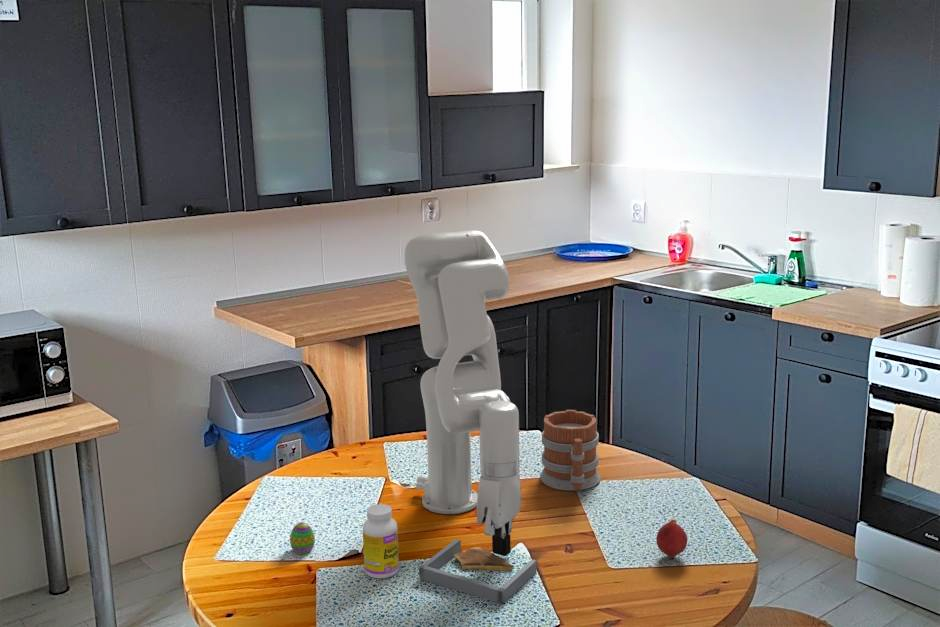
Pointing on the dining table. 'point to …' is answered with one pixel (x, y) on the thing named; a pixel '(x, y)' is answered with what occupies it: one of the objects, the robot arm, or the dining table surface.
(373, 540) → the supplement bottle
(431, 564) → the slate bay
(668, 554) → the onion
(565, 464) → the mug
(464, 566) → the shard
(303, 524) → the egg
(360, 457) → the dining table surface
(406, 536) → the dining table surface
